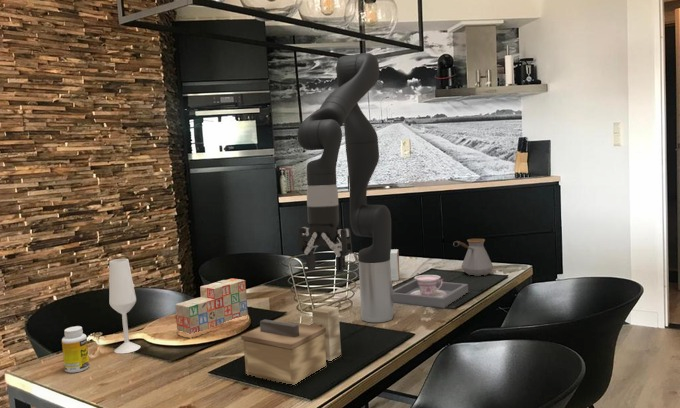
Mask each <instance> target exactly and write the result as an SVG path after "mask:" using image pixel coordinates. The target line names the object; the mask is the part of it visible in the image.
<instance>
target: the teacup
mask: <svg viewBox="0 0 680 408" xmlns="http://www.w3.org/2000/svg"><path fill="white" fill-rule="evenodd" d="M413 280H416V281H417V282H418V285H419V288H420V290H418V291H414V292H412V293H410V294H413V295H422V296H432V297H441V298H442V297H443V296H445V295H447V293H446V292H444V291H441V290H438V289H440V287H441V286H442V283H443V282H444V278H441V275H437V274H422V275H416V276H414V277H413ZM437 282H441V285H440V286H439V287H438V288H437V287H436V285H437ZM436 289H437V290H436Z"/></svg>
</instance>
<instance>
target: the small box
mask: <svg viewBox="0 0 680 408" xmlns="http://www.w3.org/2000/svg"><path fill="white" fill-rule="evenodd" d="M399 258H400V255H399V249H397V248H396V249H395V248H394V249H392V248H391V252H390V264H391V282H394V281H396V282H398V281H400V276H401V275H400V259H399Z"/></svg>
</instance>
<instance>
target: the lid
mask: <svg viewBox="0 0 680 408" xmlns="http://www.w3.org/2000/svg"><path fill="white" fill-rule="evenodd" d="M325 332H326V327H322V324H318V323H314V324H313V323H312V324H307V323H299V322H293V321H286V320H281V319H276V320H271V319H262V320H259V327H258V328H255V329H253V330H251V331H248V332H246V333H244V334H243V333H242V334H241V335H240V339H241V340H242V341H244V340H246V341H251V342H256V343H261V344H267V345H272V346H277V347H282V348H288V349H293V348H295V347H297V346H299V345H301V344H303V343H305V342H307V341H309V340H311V339H313V338H315V337H317V336H319V335H321V334H323V333H325Z"/></svg>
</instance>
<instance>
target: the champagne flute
mask: <svg viewBox="0 0 680 408" xmlns="http://www.w3.org/2000/svg"><path fill="white" fill-rule="evenodd" d="M108 265H109V267H108V268H109V270H108V271H109V273H108V275H109V277H108V278H109V282H108V283H109V284H108V285H109V286H108V287H109V288H108V290H109V292H108V293H109V295H108V296H109V298H108V299H109V305H110V307H111V308H112V309H113V310H114V311H116V312H117V313H118V314H120V315H121V319H122V320H121V321H122V328H123V330H122V331H123V340H124V342H123V343H122V344H120V345H118V347H116V348H115V349H114V350H113V352H114V353H116V354H128V353H133V352H136V351H138V350H139V349H141V345H139V344H137V343H134V342H132V341H130V337H129V327H128V326H129V323H128V315H127V313H129V312H130V311H131V310H132V309H133V308H134V306H135V304H136V303H137V295H136V291H135V287H134V286H135V285H134V281H133V275H132V271H131V270H132V269H131V267H130V265H131V264H130V261H129V259H128V258H118V259H117V258H115V259H112V260H109V263H108Z"/></svg>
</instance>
